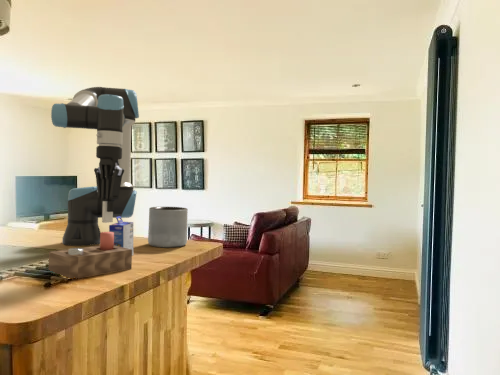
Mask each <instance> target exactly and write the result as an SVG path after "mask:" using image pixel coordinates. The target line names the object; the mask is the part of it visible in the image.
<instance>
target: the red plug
mask: <svg viewBox="0 0 500 375" xmlns="http://www.w3.org/2000/svg"><path fill="white" fill-rule="evenodd" d="M100 232H101V233H100V244H99V246H100V250H103V251H107V250H114V232H109V231H100Z"/></svg>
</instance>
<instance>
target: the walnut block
mask: <svg viewBox="0 0 500 375" xmlns="http://www.w3.org/2000/svg"><path fill="white" fill-rule="evenodd" d="M82 248H83V254H77V255H70V254H68V250H69V249H70V248H68V249H62V250H61V249H60V250H53V251H48V270H50V271H53V272H55V273H57V274H61V275H63V276H66V277H68V278H74V277H75V278H76V279H75V280H77V278H78V279H82V278H87V277H93V276H100V275H103V274H110V273H116V272H120V271H121V272H122V271H126V270H132V268H133V267H132V262H133V258H132V257H133V256H132V249H128V248H123V247H119V246H115V245H114V250H107V251H103V250H100V245H95V246H94V245H92V246H86V247H85V246H84V247H82Z"/></svg>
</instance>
